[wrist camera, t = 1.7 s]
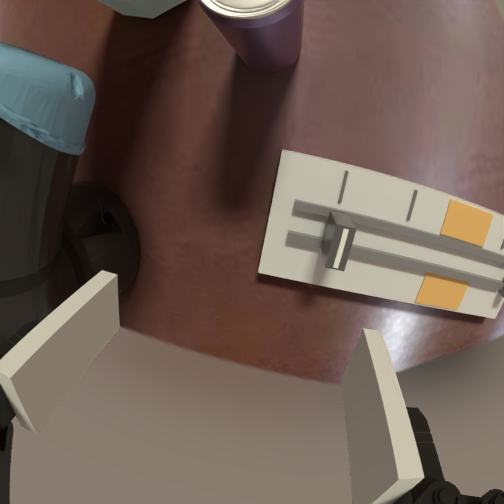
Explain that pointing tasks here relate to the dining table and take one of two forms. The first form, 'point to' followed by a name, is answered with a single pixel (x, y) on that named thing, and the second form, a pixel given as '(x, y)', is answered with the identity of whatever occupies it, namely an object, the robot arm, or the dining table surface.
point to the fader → (337, 241)
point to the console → (385, 237)
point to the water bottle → (141, 7)
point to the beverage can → (260, 30)
